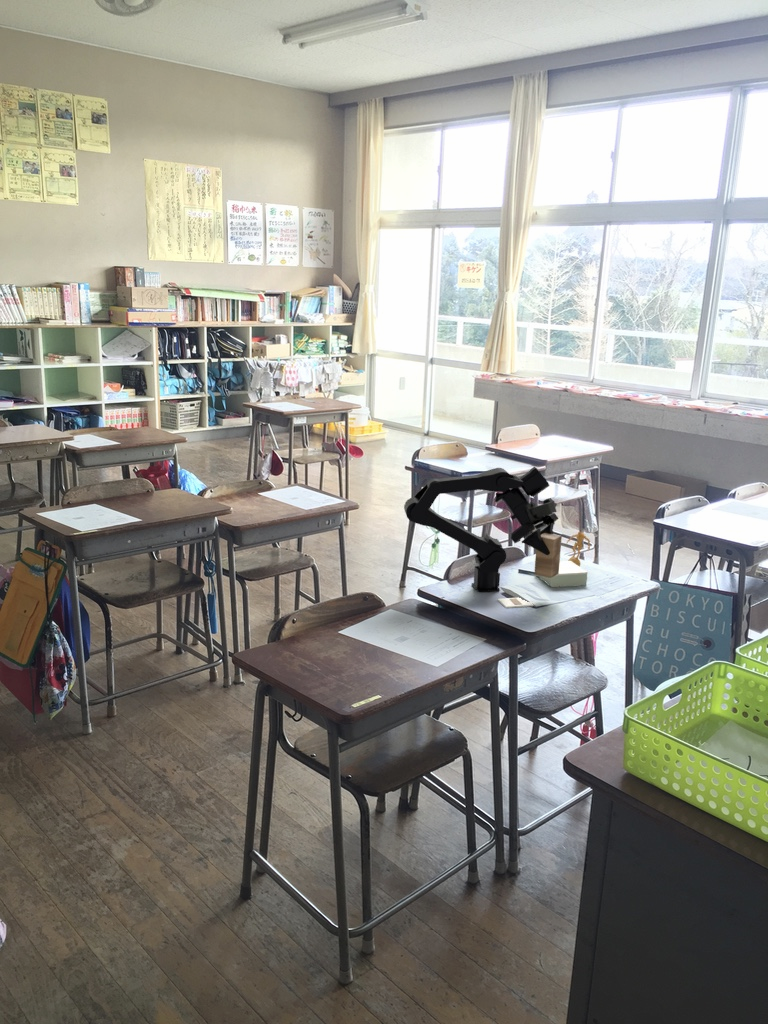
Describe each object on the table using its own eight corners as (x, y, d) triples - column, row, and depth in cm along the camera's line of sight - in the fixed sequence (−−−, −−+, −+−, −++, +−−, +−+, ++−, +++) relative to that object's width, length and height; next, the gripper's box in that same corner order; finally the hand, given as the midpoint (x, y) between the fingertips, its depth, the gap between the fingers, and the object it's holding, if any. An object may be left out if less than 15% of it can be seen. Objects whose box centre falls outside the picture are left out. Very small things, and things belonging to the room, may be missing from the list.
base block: (551, 587, 237) (552, 574, 236) (536, 575, 247) (537, 562, 246) (586, 585, 239) (587, 572, 238) (569, 573, 250) (570, 560, 249)
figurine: (558, 567, 255) (561, 530, 252) (569, 563, 259) (572, 527, 256) (581, 574, 249) (584, 536, 246) (592, 570, 253) (595, 533, 250)
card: (505, 607, 220) (505, 606, 220) (497, 600, 225) (498, 598, 225) (533, 606, 222) (533, 604, 221) (524, 598, 227) (524, 596, 227)
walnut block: (550, 578, 224) (553, 539, 221) (534, 574, 226) (537, 536, 224) (558, 573, 227) (561, 535, 225) (542, 569, 230) (545, 532, 228)
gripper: (524, 495, 216) (559, 543, 213) (554, 484, 231) (587, 529, 227) (496, 519, 223) (529, 566, 219) (527, 507, 237) (559, 550, 234)
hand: (552, 552), depth 225 cm, fingers closed on walnut block, 5 cm apart
